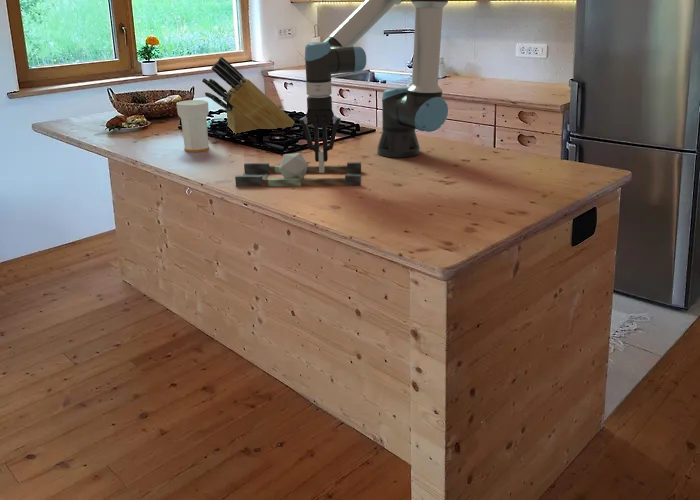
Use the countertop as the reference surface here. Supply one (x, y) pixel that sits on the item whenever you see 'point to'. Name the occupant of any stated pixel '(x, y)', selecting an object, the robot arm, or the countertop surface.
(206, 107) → the cup
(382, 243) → the countertop surface
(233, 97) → the knife block
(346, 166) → the trap channel
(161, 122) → the countertop surface
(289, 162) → the die
